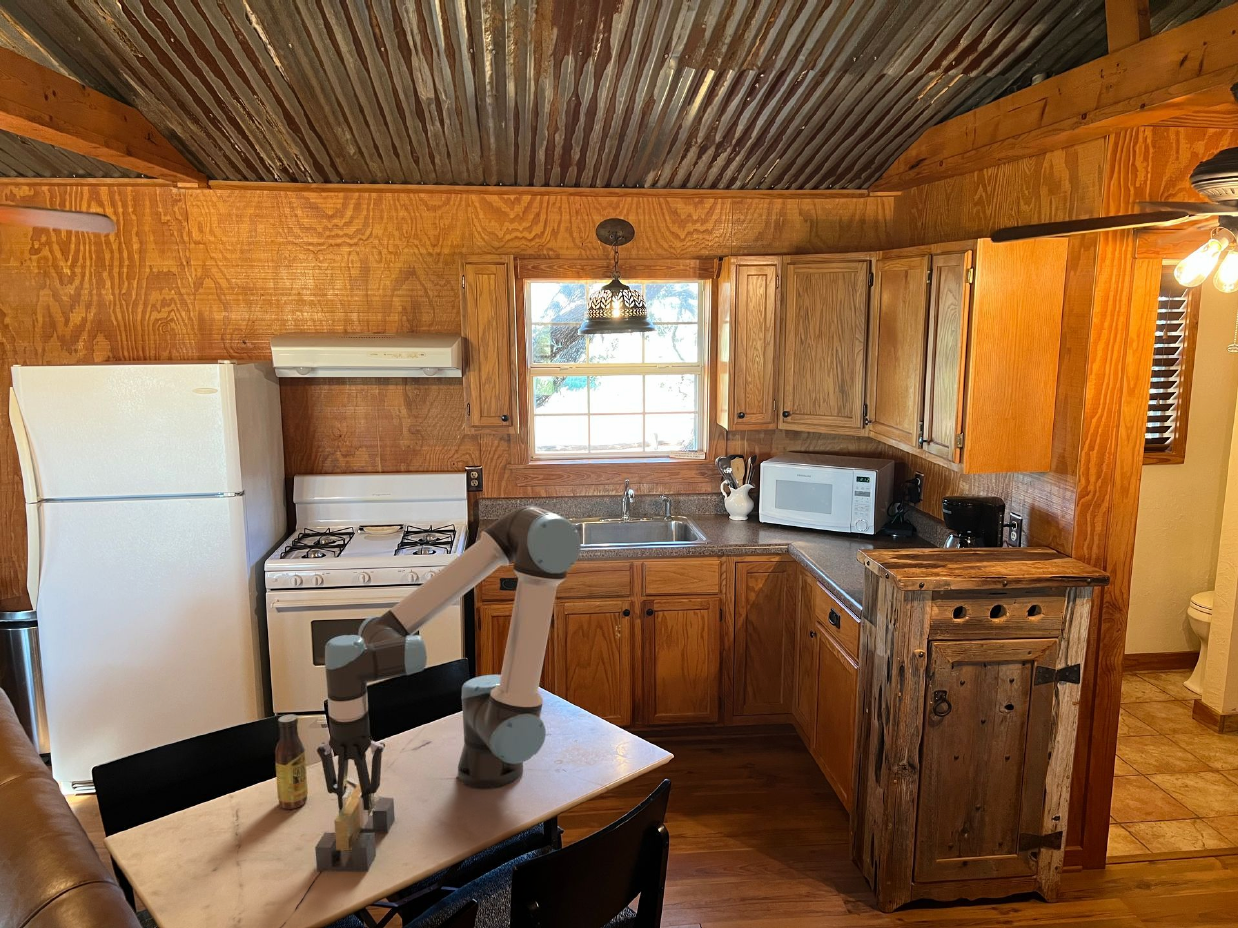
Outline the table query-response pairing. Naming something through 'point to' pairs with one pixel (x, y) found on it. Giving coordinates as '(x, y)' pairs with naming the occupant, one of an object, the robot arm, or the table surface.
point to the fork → (357, 784)
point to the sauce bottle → (290, 765)
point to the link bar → (349, 821)
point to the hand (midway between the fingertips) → (356, 823)
